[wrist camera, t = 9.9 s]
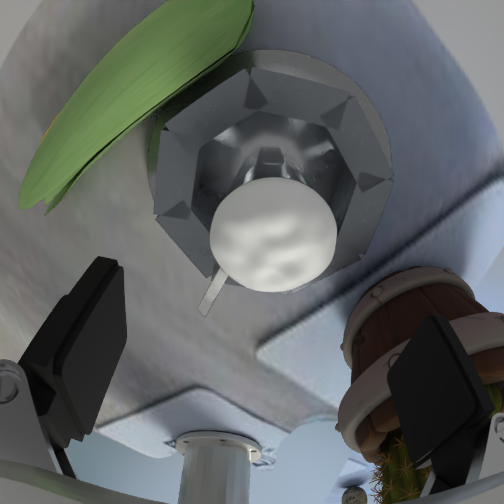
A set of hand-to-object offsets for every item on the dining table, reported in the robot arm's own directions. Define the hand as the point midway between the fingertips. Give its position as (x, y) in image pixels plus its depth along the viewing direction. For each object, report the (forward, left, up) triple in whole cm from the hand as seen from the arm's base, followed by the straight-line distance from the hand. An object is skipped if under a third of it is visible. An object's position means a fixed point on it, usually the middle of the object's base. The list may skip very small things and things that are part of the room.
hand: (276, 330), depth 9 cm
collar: (+1, 0, -12) cm, 12 cm away
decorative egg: (-63, -36, -12) cm, 74 cm away
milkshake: (+1, +1, -12) cm, 12 cm away
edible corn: (+4, +10, -13) cm, 17 cm away
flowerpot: (-8, -14, -13) cm, 20 cm away
